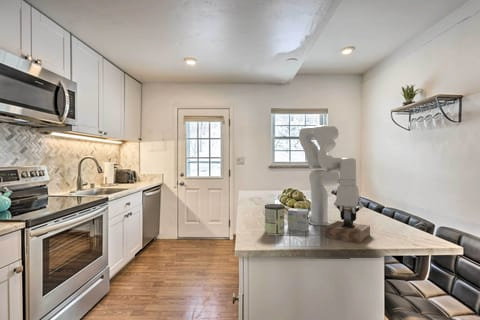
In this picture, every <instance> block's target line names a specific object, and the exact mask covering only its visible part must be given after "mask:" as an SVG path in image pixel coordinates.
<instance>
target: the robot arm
mask: <svg viewBox="0 0 480 320" xmlns="http://www.w3.org/2000/svg"><path fill="white" fill-rule="evenodd" d="M339 133H340V132H339V129H338V128H337V127H336V126H335V125H327V124H325V125H323V124H320V125H316V126H305V127H302V128H301V129H300V130H299V133H298V139H299V140H298V141H299V143H300V145H301V147H302V149H303V151H304V155H305V158H306V159H305V160H306V163H307V165H308V168H310V170H312V171H311V172H310V173H309V177H308V178H309V179H308V180H309V184H310V209H311V210H310V212H311V213H310V214H309V225H313V226H322V227H323V226H324V227H326V226H328V225H330V224H332V222H331V221H330V220H329V218H328V217H329V193H328V191H327V189H326V187H330V186H332V187H333V186H336V185H338V184H339V185H338V186H337V190H336V199H335V201H334V202H333V206H335V208H336V209H337V210H338V211H339V212H340V213H339V214H340V217H339V218H340V219H341V220H340V221H343V207H344V206H346V207H352V211H353V213H352V221H353V222H355V221H356V220H357V212H359V211H360V210H362V209H363V208H364V207H365V205H363V203H362V202H361V200H360V191H359V186H357V160H356V159H355V157H333V156H332V155H330V154H328V153H329V152H331V151H333V150H334V149H335V147H336V141H335V140H337V138H338V136H339ZM313 141H316V143H317V144H316V143H315V142H313ZM317 145H318V146H319V147H318V146H317Z"/></svg>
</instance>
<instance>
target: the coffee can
mask: <svg viewBox="0 0 480 320" xmlns="http://www.w3.org/2000/svg"><path fill="white" fill-rule="evenodd" d="M264 233H265V234H266V235H270V236H282V235H285V233H286V232H285V205H284V204H280V203H279V204H278V203H269V204H265V205H264Z"/></svg>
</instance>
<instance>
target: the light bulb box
mask: <svg viewBox="0 0 480 320" xmlns="http://www.w3.org/2000/svg"><path fill="white" fill-rule="evenodd" d="M309 215H310V214H309V209H308V208H291V207H290V208H288V210H287V230H288V231H298V232H309V228H310V227H309V225H310V223H309V220H310V219H309Z"/></svg>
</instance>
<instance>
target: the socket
mask: <svg viewBox="0 0 480 320" xmlns="http://www.w3.org/2000/svg"><path fill="white" fill-rule="evenodd" d="M324 227H325V228H324V229H325V232H324V233H325V238H330V239H335V240H339V241H345V242H350V243H356V244H361V243H363V242H364V241H365V240H366V239H368V238H369V237H371V225H368V224H362V223H361V224H360V223H354V222H353V226H352V227H348V226H344V225H343V220H337V221H334V222H331V224H330V225H325V226H324Z"/></svg>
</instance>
